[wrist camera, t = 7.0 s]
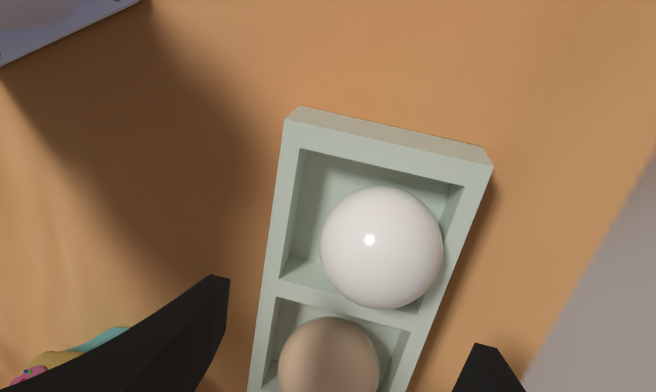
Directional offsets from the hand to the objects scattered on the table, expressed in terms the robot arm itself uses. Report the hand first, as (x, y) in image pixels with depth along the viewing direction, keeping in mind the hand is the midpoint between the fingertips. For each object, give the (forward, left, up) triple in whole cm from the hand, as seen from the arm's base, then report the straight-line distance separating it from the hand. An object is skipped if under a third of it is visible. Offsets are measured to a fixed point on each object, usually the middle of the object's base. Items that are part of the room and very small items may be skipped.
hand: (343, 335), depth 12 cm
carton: (-2, -3, -8) cm, 9 cm away
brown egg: (-4, -7, -8) cm, 11 cm away
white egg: (0, 0, -8) cm, 8 cm away
